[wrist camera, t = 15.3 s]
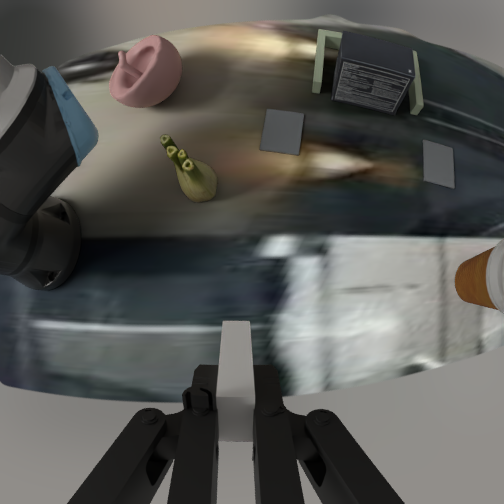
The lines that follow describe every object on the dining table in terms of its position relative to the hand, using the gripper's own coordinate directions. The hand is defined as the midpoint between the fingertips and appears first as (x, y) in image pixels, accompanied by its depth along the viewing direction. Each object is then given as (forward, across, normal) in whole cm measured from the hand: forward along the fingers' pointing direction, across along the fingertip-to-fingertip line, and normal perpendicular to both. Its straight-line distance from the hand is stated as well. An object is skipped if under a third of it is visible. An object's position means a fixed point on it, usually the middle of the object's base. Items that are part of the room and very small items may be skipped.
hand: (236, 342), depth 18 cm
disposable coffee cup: (+20, +34, -4) cm, 39 cm away
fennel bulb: (+29, -5, +7) cm, 30 cm away
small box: (+33, +19, +23) cm, 44 cm away
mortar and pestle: (+37, -14, +23) cm, 46 cm away
